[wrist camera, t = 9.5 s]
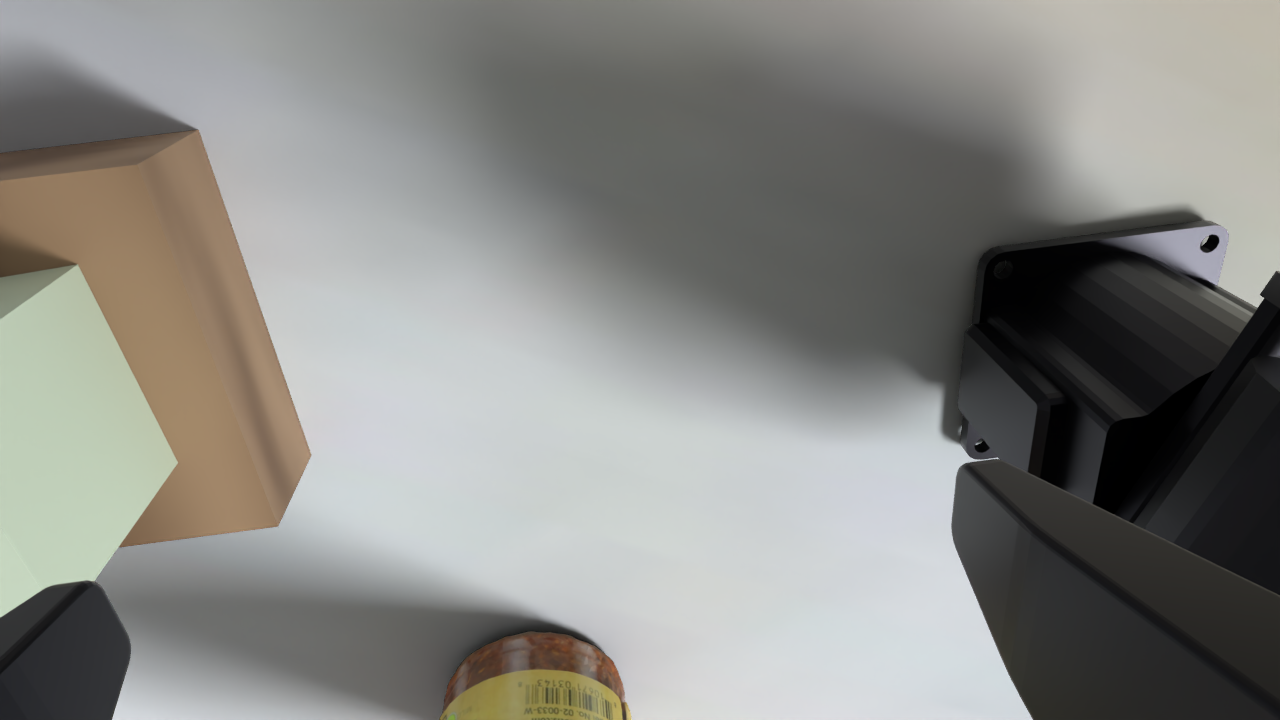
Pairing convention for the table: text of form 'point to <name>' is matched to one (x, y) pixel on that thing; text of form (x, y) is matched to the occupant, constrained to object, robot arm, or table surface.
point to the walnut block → (167, 317)
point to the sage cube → (67, 436)
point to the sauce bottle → (536, 682)
